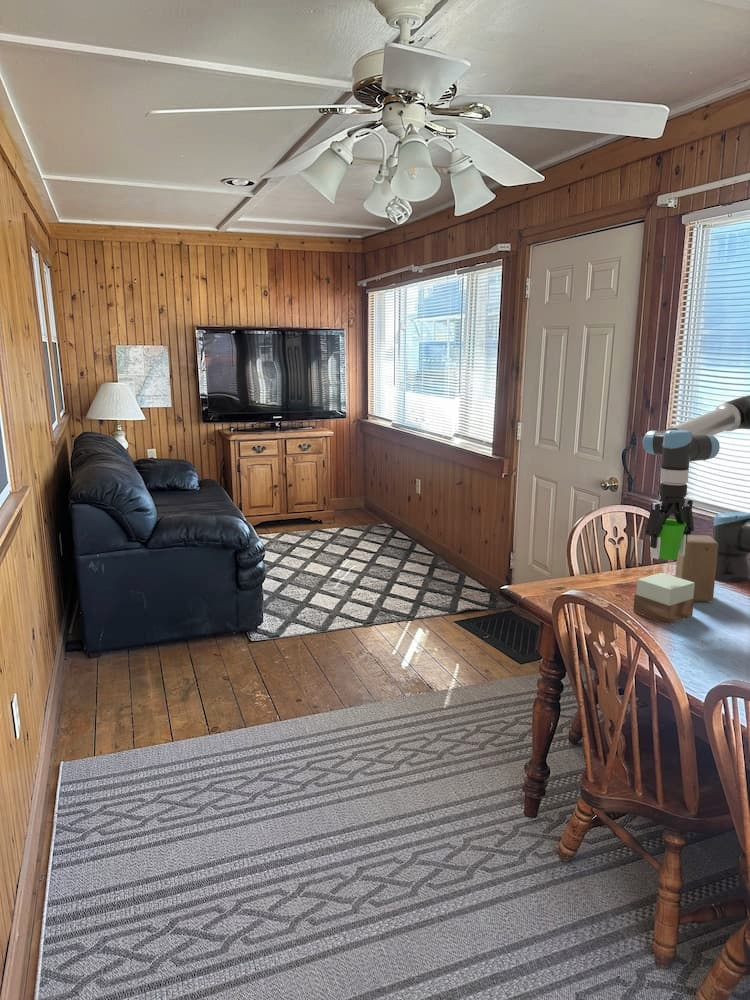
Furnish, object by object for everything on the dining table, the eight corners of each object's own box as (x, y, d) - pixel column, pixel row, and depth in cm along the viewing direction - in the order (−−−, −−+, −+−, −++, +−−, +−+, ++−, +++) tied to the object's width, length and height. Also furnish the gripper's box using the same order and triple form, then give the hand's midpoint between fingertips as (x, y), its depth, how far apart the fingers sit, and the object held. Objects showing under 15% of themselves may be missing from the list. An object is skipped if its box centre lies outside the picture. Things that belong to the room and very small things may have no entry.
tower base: (658, 605, 216) (659, 587, 215) (692, 617, 206) (694, 598, 205) (633, 612, 210) (634, 594, 209) (667, 625, 200) (668, 606, 199)
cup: (687, 562, 199) (690, 526, 197) (654, 561, 201) (657, 525, 199) (679, 554, 208) (682, 519, 206) (648, 553, 210) (650, 518, 207)
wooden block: (713, 603, 217) (719, 542, 212) (680, 601, 219) (685, 541, 214) (705, 592, 226) (710, 534, 222) (673, 591, 228) (678, 533, 224)
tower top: (660, 587, 214) (661, 572, 213) (693, 598, 205) (694, 582, 204) (636, 594, 209) (637, 579, 208) (669, 605, 199) (670, 589, 198)
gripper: (692, 478, 207) (686, 549, 212) (635, 483, 199) (629, 556, 204) (712, 482, 200) (705, 555, 205) (653, 487, 193) (647, 563, 197)
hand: (667, 556), depth 204 cm, fingers closed on cup, 9 cm apart
